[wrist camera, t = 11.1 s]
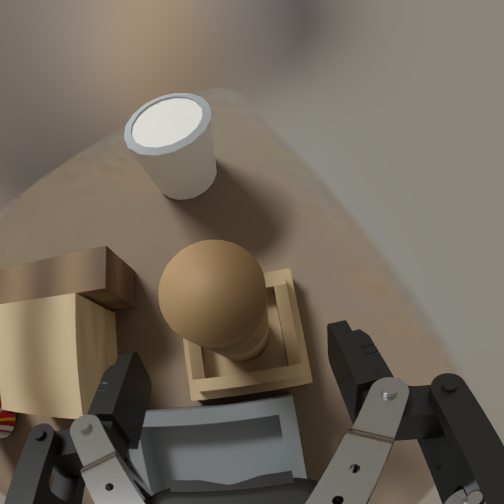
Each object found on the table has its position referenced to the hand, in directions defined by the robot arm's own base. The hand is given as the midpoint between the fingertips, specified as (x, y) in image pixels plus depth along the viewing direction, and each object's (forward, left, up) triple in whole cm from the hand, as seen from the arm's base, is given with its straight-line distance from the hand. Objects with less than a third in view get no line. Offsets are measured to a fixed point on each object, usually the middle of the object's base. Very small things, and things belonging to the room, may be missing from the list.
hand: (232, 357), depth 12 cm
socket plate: (0, +2, -9) cm, 9 cm away
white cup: (-3, +17, -10) cm, 20 cm away
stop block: (-14, +7, -9) cm, 18 cm away
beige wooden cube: (-14, +1, -9) cm, 17 cm away
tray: (-3, -8, -9) cm, 13 cm away
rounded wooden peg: (0, +2, -8) cm, 8 cm away
